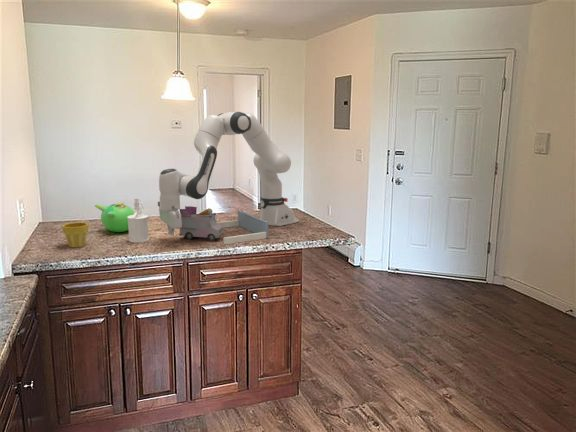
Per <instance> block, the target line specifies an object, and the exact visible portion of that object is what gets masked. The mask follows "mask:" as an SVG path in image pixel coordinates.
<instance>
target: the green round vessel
mask: <svg viewBox="0 0 576 432" xmlns="http://www.w3.org/2000/svg"><path fill="white" fill-rule="evenodd" d="M94 207H95V208H97V209H99V210H100V211H101V214H100V220H101V223H102V226H104V228H106V229H107V230H108V231H110V232H114V233H122V232H123V233H124V232H127V231H129V229H128V219H127V217H128V216H130V215H134V211H135V210H134V209H133V208H131V207H130V206H129V205H127V204H125V202H124V201H123V202H119V203H118V202H117V203H115V204H111V205H108V206H105V205H99V204H95V205H94Z"/></svg>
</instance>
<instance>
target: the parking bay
mask: <svg viewBox="0 0 576 432" xmlns="http://www.w3.org/2000/svg"><path fill="white" fill-rule="evenodd" d="M216 223H217V224H219V225H220V226H222V227H223V229H227V228H233V227H241V228H243V229H244V230H247V231H249V232H251V233H248V234H247V233H246V234H241V235H235V236H234V235H233V236H226V237H222V238H223V242H222V243H223V245H224V246H225V245H230V244H238V243H243V242H250V241H252V242H253V241H258V240H264V239H269V225H268V222H267V221H264V220H262V219H260V217H257V216H254V215H251V214H249V213H247V212H244V211H242V210H237V220H228V221H227V220H225V221H219V222H218V221H216Z"/></svg>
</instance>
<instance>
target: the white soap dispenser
mask: <svg viewBox="0 0 576 432" xmlns="http://www.w3.org/2000/svg"><path fill="white" fill-rule="evenodd" d="M133 204H134V205H133V206H134V208H133V211H134V215H130V216H128V217H127V219H128V229H129V230H128V242H130V243H134V244H137V243H138V244H139V243H145V242H148V241H149V240H150V237H149V226H148V225H149V224H148V223H149V220H148V219H149V218H148V217H149V216H148V215H147V214H144V211H145V209H144V205H143V204H140V200H139V198H138V197H135V198H134V202H133ZM141 208H142V211H141Z"/></svg>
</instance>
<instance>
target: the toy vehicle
mask: <svg viewBox="0 0 576 432" xmlns="http://www.w3.org/2000/svg"><path fill="white" fill-rule="evenodd" d="M197 209H198V207H197V206H187V205H186V206H184V208H180V209H179V212H180V213H181V220H182V227H181V228H179V234H178V235H179V236H180V237H181V236H182V237H183V236H184V239H187V240H193V239H194V237H195V238H207V239H208V240H209V241H210V242H214V241H215V240H216V239H219V238H220V237H221V236H223V235H224V234H225V233H224V230H223V229H224V228H223V227H222V226H220V225H219V224H217V218H216V216H217V213H216V212H213V209H212V208H207V209H205V210H203V211H201V212H199V213H197Z"/></svg>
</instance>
